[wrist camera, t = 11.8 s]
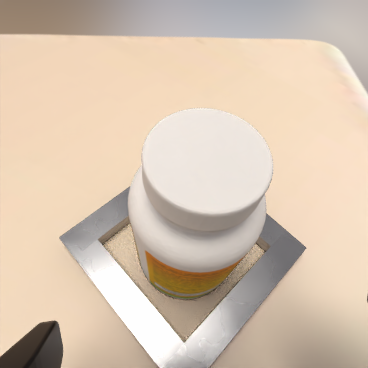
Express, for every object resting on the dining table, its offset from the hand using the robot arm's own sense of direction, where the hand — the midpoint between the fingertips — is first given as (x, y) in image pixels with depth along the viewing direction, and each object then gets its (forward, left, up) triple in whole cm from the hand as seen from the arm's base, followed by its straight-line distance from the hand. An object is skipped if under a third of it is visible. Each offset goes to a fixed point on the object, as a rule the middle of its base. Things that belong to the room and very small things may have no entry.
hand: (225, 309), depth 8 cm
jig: (+3, -3, -8) cm, 9 cm away
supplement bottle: (+3, -2, -8) cm, 9 cm away
